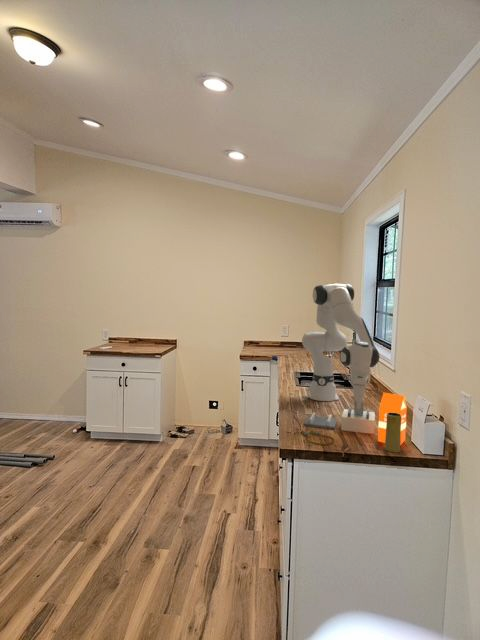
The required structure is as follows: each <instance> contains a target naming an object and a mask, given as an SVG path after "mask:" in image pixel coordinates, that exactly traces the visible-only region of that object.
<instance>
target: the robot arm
mask: <svg viewBox="0 0 480 640" xmlns="http://www.w3.org/2000/svg"><path fill="white" fill-rule="evenodd" d="M312 299H313V303H314V304H316V305H317V307H316V308H317V309H316V320H315V321H316V324H317V325H318V326H319V327H320V328H322V329H324V330H325V331H310V332H305V333H304V334H303V336H302V339H301V345H302V346H303V348H304V349H305V350H307V352H309V354H310V356H311V357H312V360H313V374H312V381H311V382H310V383H309V393H308V394H306V398H309V399H311V400H315V401H320V402H331V401H332V402H333V401H340V397H339V396H338V393H337V389H336V388H337V385H336V383H335V381H334V379H335V376H334V361H333V359H331V358H329V357H328V356H326V355H325V354H324V352H339V351H340V352H339V361H340V363H341V364H342V365H343V366H345V367H349V368H350V371H349V373H350V376H349V378H350V379H349V380H350V381H351V384H352V386H353V399H354V401H355V402H357V409H361V402H363V399H364V398H365V391H366V387H367V386H368V384H369V383H370V382H371V375H372V374H371V372H372V371H371V368H374V367H375V366H376V365H377V364H378V363H379V361H380V353H379V351H378V349H377V346H375V344H374V342H373V339H372V337H371V334H370V332H369V329H368V326H367V325H366V322H365V321H364V319H363V317H361V316H360V315H359V314H358V313H357V312H356V311H357V310H355V308H354V307H355V306H354V304H353V301H354V299H355V289H354V287H353V286H352V285H351V284H349V283H331V284H323V285H322V284H319V285H316V286H315V287H314V288H313V290H312ZM338 325H339V326H342V327H344V328H345V327H346V328H348V329H350V330H352V331H354V332H355V333H356V334H357V336H358V339H359V340H357V341H353V342H352V344H351V345H348V338H347V336H346V334H344V332H342V331H341V330H340V329H339V326H338ZM364 400H365V399H364Z"/></svg>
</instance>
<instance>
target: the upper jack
mask: <svg viewBox="0 0 480 640" xmlns="http://www.w3.org/2000/svg"><path fill="white" fill-rule="evenodd" d="M375 413H376V412H375V411H370V407H366V410H363V414H357V413H354V409H352V405H349V406H348V408H344V409H343V412H342V415H341V424H340V425H341V427H340V428H341V431H347V432H354V433H362V434H370V435H375V424H376V422H375V421H376V420H375V419H376V417H375V416H376V414H375Z"/></svg>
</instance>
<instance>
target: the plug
mask: <svg viewBox="0 0 480 640" xmlns="http://www.w3.org/2000/svg"><path fill="white" fill-rule="evenodd" d="M364 403H365V399H363V402H361V409H357V402H355V401H354V403H353V404H354V406H353V410H354V413H357V414H363V411H364V407H365V406H364V405H365V404H364Z"/></svg>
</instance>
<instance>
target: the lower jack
mask: <svg viewBox="0 0 480 640" xmlns="http://www.w3.org/2000/svg"><path fill="white" fill-rule="evenodd" d="M337 423H338V417H337V418H336V417H333V415H332V414H329V415H328V417H327V416H318V415H317V416H316V412H314V411H313V412H312V414H311V415H307V416H306V419H305V421H304V422H303V426H305V427H311V428H314V427H315V428H322V429H330V430H335V429H336V427H337Z"/></svg>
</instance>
